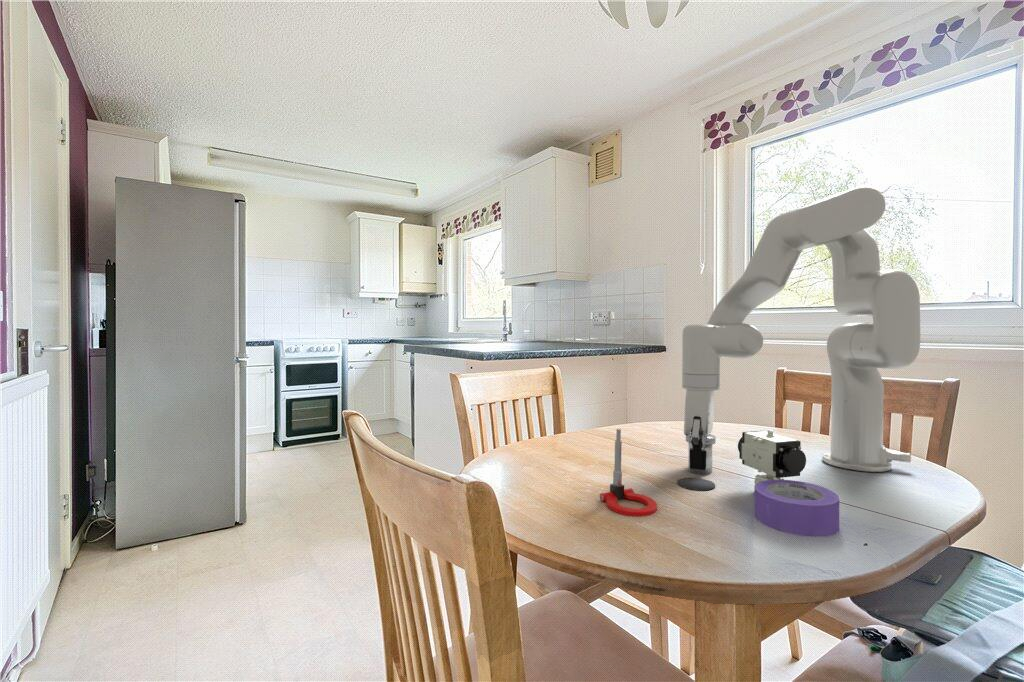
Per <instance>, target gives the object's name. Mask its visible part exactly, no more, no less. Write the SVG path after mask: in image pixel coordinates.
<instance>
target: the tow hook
mask: <svg viewBox="0 0 1024 682" xmlns="http://www.w3.org/2000/svg"><path fill="white" fill-rule="evenodd" d="M615 430H616V431H615V432H616V433H615V435H616V436H615V441H614V470H612V471H613V474H612V475H613V476H612V477H613V478H612V483H610V484H609V491H608V492H603V493H599V499H600V501H601V502H602V503H603V502H606V506H607V507H608V508H609V509H610V510H611V511H613V512H615V513H617V514H620V515H624V516H630V517H645V516H650V515H653V514H654V513H656V512H657V511H658V510H657V509H658V504H657V501H656V500H654V499H653V498H651V497H650V496H647V495H644V494H640V493H636V492H635V491H634V489H633V488H631V487H630V488H626V489H625V485H624V484H622V482H623V480H622V477H623V472H622V449H623V448H622V446H623V445H622V443H623V442H622V438H621V436H622V430H621V428H617V429H615ZM624 498H625V499H627V500H630V501H631V500H632V501H637V502H640V503H643V504H645V505H646V506H645V507H642V508H631V507H627V506H623V505H621V504H618V500H622V499H624Z"/></svg>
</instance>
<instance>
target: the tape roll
mask: <svg viewBox="0 0 1024 682" xmlns="http://www.w3.org/2000/svg"><path fill="white" fill-rule="evenodd" d="M753 487H754V488H753V489H754V491H753V493H754V496H753V497H754V501H753V502H754V503H753V507H754V511H753V513H754V515H755V516H754V518H755V517H756V518H755V519H756V520H757V521H758V522H759V521H760V522H759V523H761V524H762V523H763V525H764V526H767V527H768V528H771V529H773V528H774V530H776V529H777V530H776V531H780V532H782V531H783V532H784V533H786V534H790V533H791V534H790V535H796V536H802V537H803V536H804V537H815V538H816V537H817V538H818V537H820V538H821V537H831V536H834V535H836V534H837V532H838V533H839V531H840V496H839V494H837V493H836V492H834V491H833V490H831V489H829V488H826V487H824V486H821V485H817V484H813V483H810V482H805V481H799V480H793V479H792V480H790V479H784V480H765V481H761V482H758V483H756V484H755V483H754V486H753Z"/></svg>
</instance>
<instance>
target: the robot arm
mask: <svg viewBox="0 0 1024 682" xmlns="http://www.w3.org/2000/svg"><path fill="white" fill-rule="evenodd" d="M885 210H886V199H885V197H884V194H883V193H882V192H881V191H880V190H879V189H876V188H875V187H872V186H870V185H869V186H866V185H860V186H856V187H853V188H850V189H848V190H845V191H842V192H839V193H836V194H833V195H828V196H827V197H824V198H822V199H818V200H817V201H815V202H813V203H811V204H808V205H805V206H801V207H798V208H795V209H793V210H790V211H787V212H785V213H781V214H779V215H777V216H775V217H774V218H772V220H770V222H769V223H768V224H767V225H766V228H765V229H764V231H763V233H762V235H761V238H760V239H759V241H758V243H757V246H756V248H755V249H754V252H753V253H752V256H751V257H750V260H749V261H748V264H747V266H746V268H745V270H744V271H743V274H742V275H741V277H739V279H738V280H737V281H735V283H734V284H733V285H732V286H731V288H730V289H729V290H728V291H727V292H726V293H725V294H724V296H723V297H722V298H721V299H720V300H719V302H718V303H717V305H716V306H715V307H714V309H713V311H712V314H711V315H710V317H709V319H708V322H707V323H706V324H703V323H701V324H698V323H697V324H688V325H685V326H684V327H683V328H682V334H681V335H682V344H681V345H682V346H681V347H682V350H681V351H682V355H681V356H682V360H681V361H682V362H681V363H682V365H681V367H682V368H681V369H682V370H681V372H682V373H681V374H682V375H681V377H682V378H681V379H682V380H681V388H682V389H684V390H686V392H685V398H684V399H685V400H684V401H685V402H684V418H683V419H684V421H683V435H684V436H685V437H686V436H688V435H689V434H690V433H691V442H690V468H691V469H699V470H705V469H706V451H705V439H706V437H708V436H709V435H710V434H711V433H712V431H713V427H714V414H715V413H714V409H715V408H714V407H715V405H714V404H715V400H714V399H715V394H714V393H715V392H714V391H719V390H720V389H721V388H720V387H721V384H720V383H721V380H720V379H721V378H720V377H721V374H720V373H721V358H722V357H723V358H730V359H731V358H732V359H739V360H743V359H749V358H752V357H754V356H756V355H757V354H758V353H759V352H760V351H761V350H762V348H763V345H764V337H763V335H762V332H761V331H760V330H759V329H758V328H757V327H755V326H754V325H752V324H750V323H744V321H745V320H746V318H747V317H748V316H749V315H750V314H751V313H752V312H753V311H754V310H755V309H756V308H757V307H759V306H760V305H762V304H764V303H765V302H767V301H769V300H770V299H773V298H774V297H775V296H776V295H778V294H780V293H781V291H783V290H784V288H785V286H786V285H787V282H788V280H789V279H790V277H791V274H792V272H793V269H794V268H795V266H796V263H797V262H798V259H799V257H801V256H800V255H801V253H802V252H803V250H805V249H811V248H814V247H818V246H822V245H824V246H826V248H827V250H828V251H829V253H830V257H831V263H832V292H833V293H832V294H833V295H832V296H833V305H834V307H835V310H836V311H837V312H838V313H839V314H841V315H843V316H846V317H861V318H862V317H865V318H866V317H872V322H849V323H845V324H842V325H839V326H837V327H836V328H834V329H833V330H832V331H831V332H830V334H829V335H828V337H827V340H826V352H827V353H826V354H827V356H828V361H829V367H830V376H831V382H830V383H831V389H830V391H831V392H830V393H831V396H830V402H831V403H830V451H828V452H825V453H822V455H821V457H822V461H823V462H824V463H826V464H829V465H830V466H834V467H838V468H841V469H846V470H847V469H848V470H852V471H858V472H859V471H860V472H868V473H871V472H872V473H876V472H877V473H880V472H881V473H883V472H888V471H890V470H892V467H893V466H892V462H893V461H895V462H897V461H898V462H901V463H909V464H910V463H911V461H912V456H911V453H910V452H901V451H898V450H891V449H887V447H886V446H885V445H884V406H885V405H884V403H885V402H884V399H885V387H884V382H883V379H882V375H881V374H880V372H879V371H880V370H879V369H884V370H885V369H886V370H887V369H888V370H899V369H905V368H907V367H909V366H910V365H912V363H914V362H915V361H916V359H917V357H918V355H919V352H920V349H921V301H920V300H921V297H920V292H919V291H920V290H919V288H918V284H917V283H916V281H915V280H914V279H913V277H912V276H911V275H909V274H908V273H907V272H905V271H903V270H899V269H882V270H881V263H880V262H881V261H880V251H879V246H878V244H877V241H876V239H875V238H874V237H873V236H872V234H870V232H869V231H868V230H867V229H868V228H870V227H872V226H874V225H876V224H877V223H878V222H879V221H880V219H881V218H882V217H883V215H884V213H885ZM699 433H702V434H703V435H699ZM699 439H702V441H701V440H699ZM701 442H702V443H701Z"/></svg>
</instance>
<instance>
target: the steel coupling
mask: <svg viewBox="0 0 1024 682" xmlns="http://www.w3.org/2000/svg"><path fill="white" fill-rule="evenodd" d="M699 435H703V434H702V433H699ZM716 438H717V437H716V435H714V434H711V433H710V435H709V436H708V437H706V439H705V451H706V469H705V470H699V469H691V468H690V442H691V433H690V434H689V435H688V436H686V435H685V442H686V443H688V449H687V450H688V451H687V453H688V459H687V461H688V463H687V465H688V466H687V467H688V470H687V471H688V472H691V473H693V474H698V475H710V474H712V473H713V445H714V444H716ZM699 440H701V441H702V439H699ZM701 443H702V442H701Z"/></svg>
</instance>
